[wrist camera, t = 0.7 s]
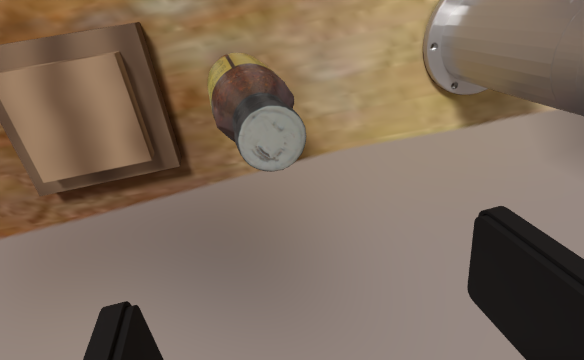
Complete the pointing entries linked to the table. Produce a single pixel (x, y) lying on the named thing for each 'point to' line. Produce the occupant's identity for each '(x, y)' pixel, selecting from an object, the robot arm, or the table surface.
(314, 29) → the table surface
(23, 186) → the table surface
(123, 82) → the pedestal
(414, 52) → the table surface
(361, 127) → the table surface
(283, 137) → the sauce bottle
